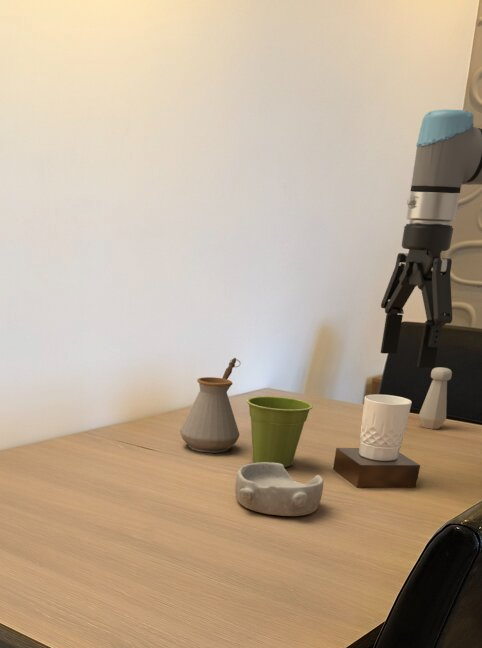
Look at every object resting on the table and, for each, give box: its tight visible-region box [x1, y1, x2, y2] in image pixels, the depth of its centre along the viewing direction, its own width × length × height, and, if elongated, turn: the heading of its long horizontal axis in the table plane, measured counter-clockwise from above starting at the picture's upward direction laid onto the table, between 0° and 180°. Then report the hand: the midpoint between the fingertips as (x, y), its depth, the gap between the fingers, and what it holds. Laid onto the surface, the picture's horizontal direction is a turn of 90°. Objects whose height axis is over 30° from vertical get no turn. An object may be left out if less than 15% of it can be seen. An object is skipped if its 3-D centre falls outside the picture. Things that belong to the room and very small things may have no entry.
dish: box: [234, 462, 324, 517], centre depth 130 cm, size 14×14×5 cm
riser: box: [332, 447, 421, 489], centre depth 147 cm, size 11×11×4 cm
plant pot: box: [246, 395, 314, 469], centre depth 150 cm, size 12×12×11 cm
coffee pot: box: [179, 357, 242, 453], centre depth 161 cm, size 21×12×15 cm, turn 160°
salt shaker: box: [418, 366, 453, 430], centre depth 184 cm, size 6×6×13 cm
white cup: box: [358, 394, 413, 461], centre depth 144 cm, size 8×8×10 cm
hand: (406, 360), depth 141 cm, fingers open, 13 cm apart
